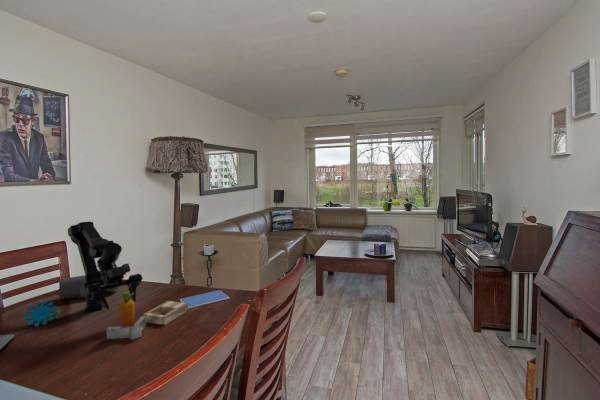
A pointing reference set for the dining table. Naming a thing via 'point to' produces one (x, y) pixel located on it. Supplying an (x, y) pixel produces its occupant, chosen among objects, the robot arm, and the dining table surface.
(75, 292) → the bluetooth speaker
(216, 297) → the tablet computer
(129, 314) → the carrot
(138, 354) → the dining table surface
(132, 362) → the dining table surface
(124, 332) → the v-block
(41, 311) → the gear
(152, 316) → the socket block
